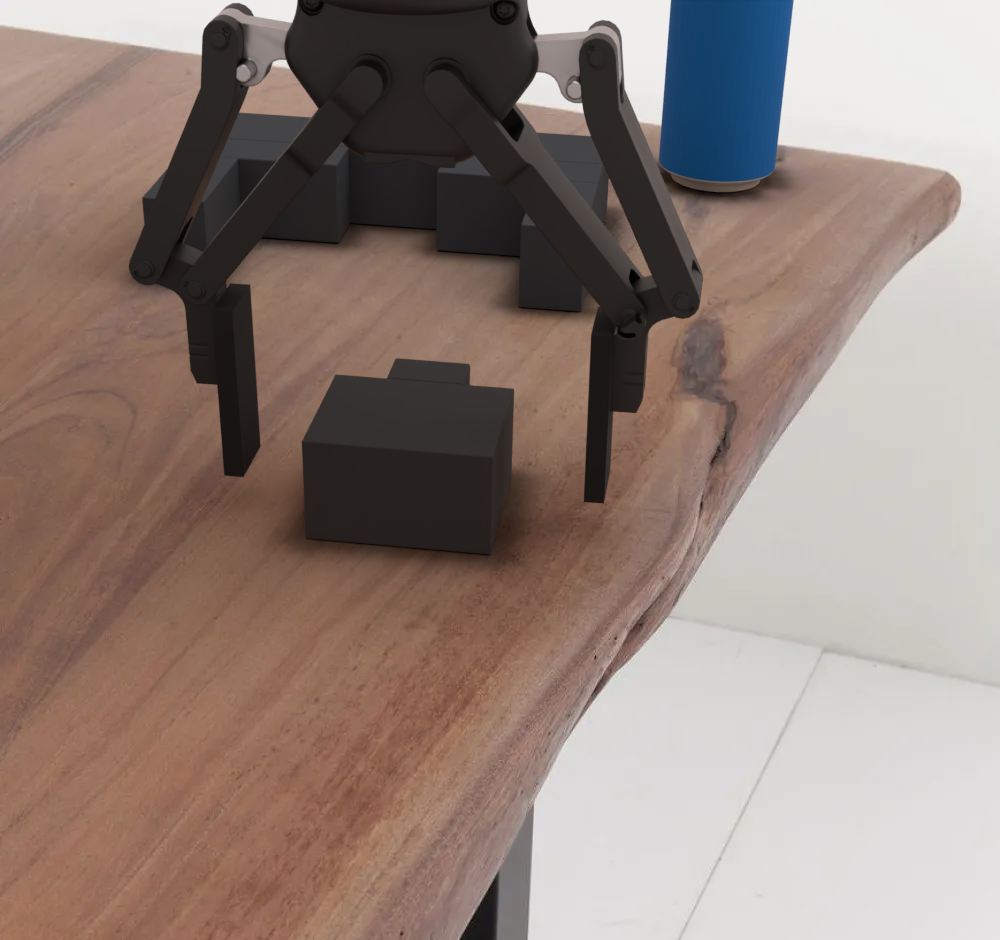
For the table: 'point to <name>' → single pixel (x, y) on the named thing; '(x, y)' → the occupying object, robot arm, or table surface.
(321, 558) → the table surface
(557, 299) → the pad base
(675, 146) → the beverage can
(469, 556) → the table surface
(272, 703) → the table surface
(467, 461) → the black block
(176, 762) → the table surface
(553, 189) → the robot arm
